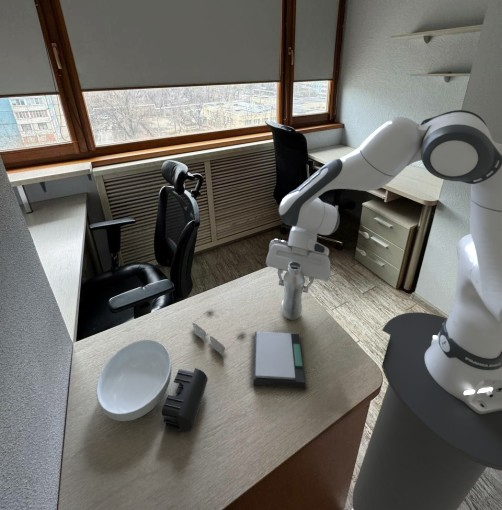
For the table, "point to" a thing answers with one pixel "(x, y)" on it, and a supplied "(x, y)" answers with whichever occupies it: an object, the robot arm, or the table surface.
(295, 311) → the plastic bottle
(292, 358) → the scale
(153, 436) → the table surface
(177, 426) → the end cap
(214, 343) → the eyeglasses
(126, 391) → the cereal bowl
